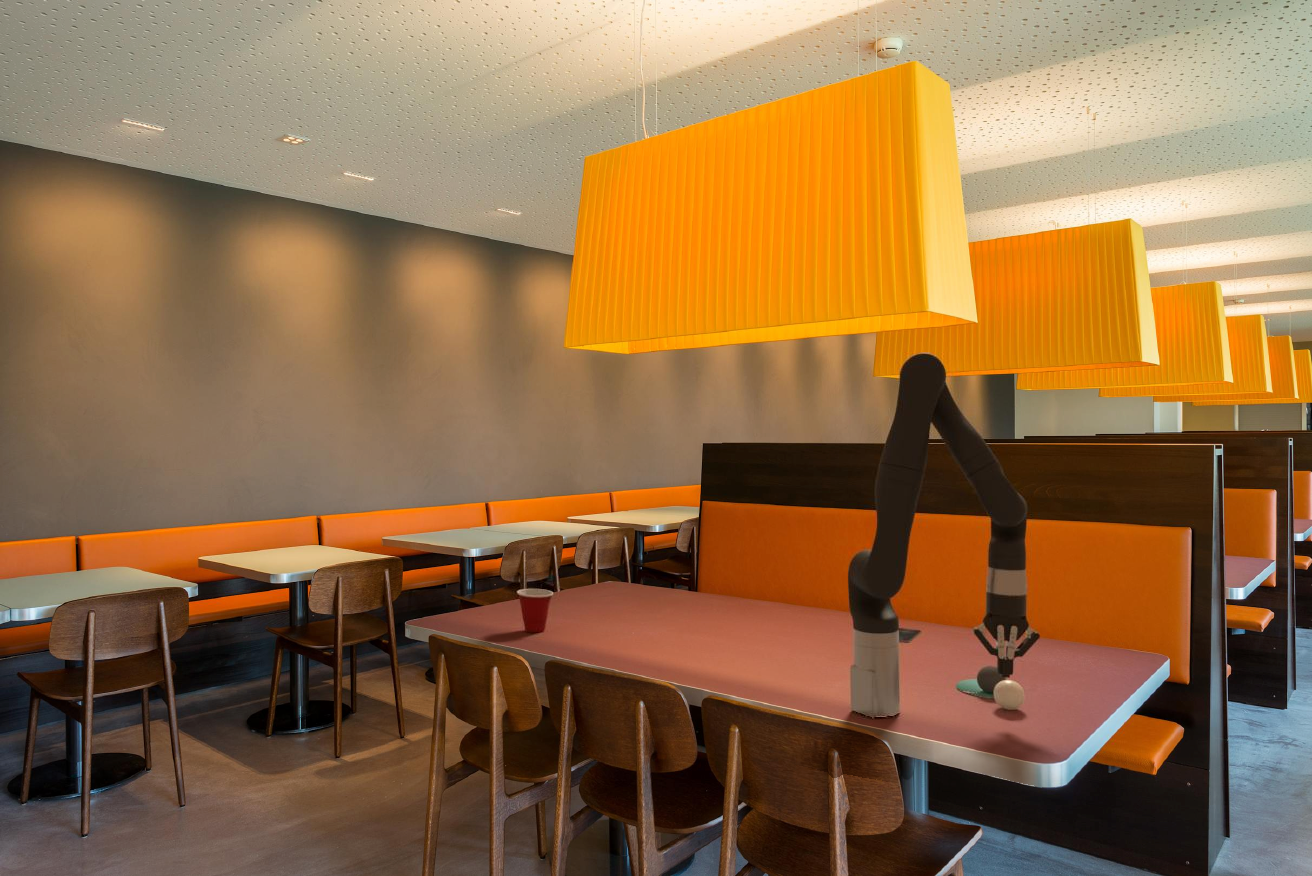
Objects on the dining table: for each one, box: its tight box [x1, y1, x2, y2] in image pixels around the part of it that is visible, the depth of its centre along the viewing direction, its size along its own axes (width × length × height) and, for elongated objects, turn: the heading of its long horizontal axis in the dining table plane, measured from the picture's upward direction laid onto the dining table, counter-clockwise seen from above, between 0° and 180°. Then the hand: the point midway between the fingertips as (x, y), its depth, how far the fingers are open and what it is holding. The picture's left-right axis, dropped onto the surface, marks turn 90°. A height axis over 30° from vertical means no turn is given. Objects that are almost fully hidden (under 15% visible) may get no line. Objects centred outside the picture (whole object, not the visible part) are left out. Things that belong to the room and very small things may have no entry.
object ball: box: [976, 665, 1007, 694], centre depth 185 cm, size 6×6×6 cm
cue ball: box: [994, 679, 1026, 711], centre depth 175 cm, size 6×6×6 cm
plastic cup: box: [516, 588, 554, 633], centre depth 250 cm, size 11×11×12 cm
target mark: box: [955, 678, 994, 699], centre depth 189 cm, size 14×14×1 cm
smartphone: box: [899, 627, 922, 643], centre depth 239 cm, size 8×1×15 cm
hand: (1004, 676), depth 169 cm, fingers closed
